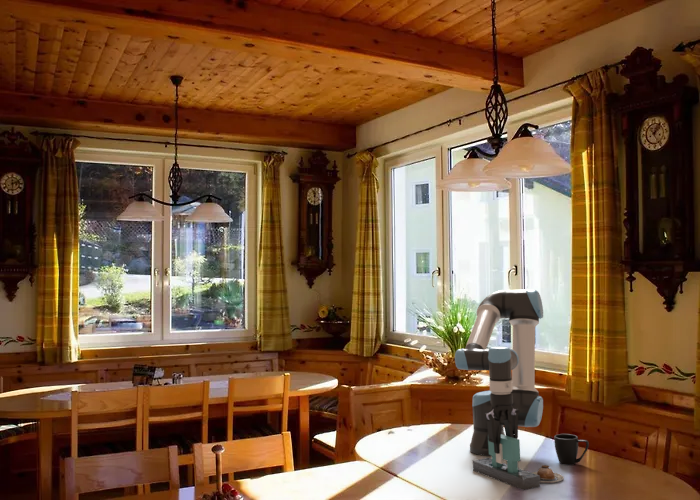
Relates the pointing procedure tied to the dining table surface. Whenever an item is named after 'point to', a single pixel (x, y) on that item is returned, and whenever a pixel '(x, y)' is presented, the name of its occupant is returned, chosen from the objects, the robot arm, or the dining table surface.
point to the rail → (507, 474)
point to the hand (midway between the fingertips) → (504, 461)
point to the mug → (568, 448)
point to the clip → (507, 453)
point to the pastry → (548, 474)
